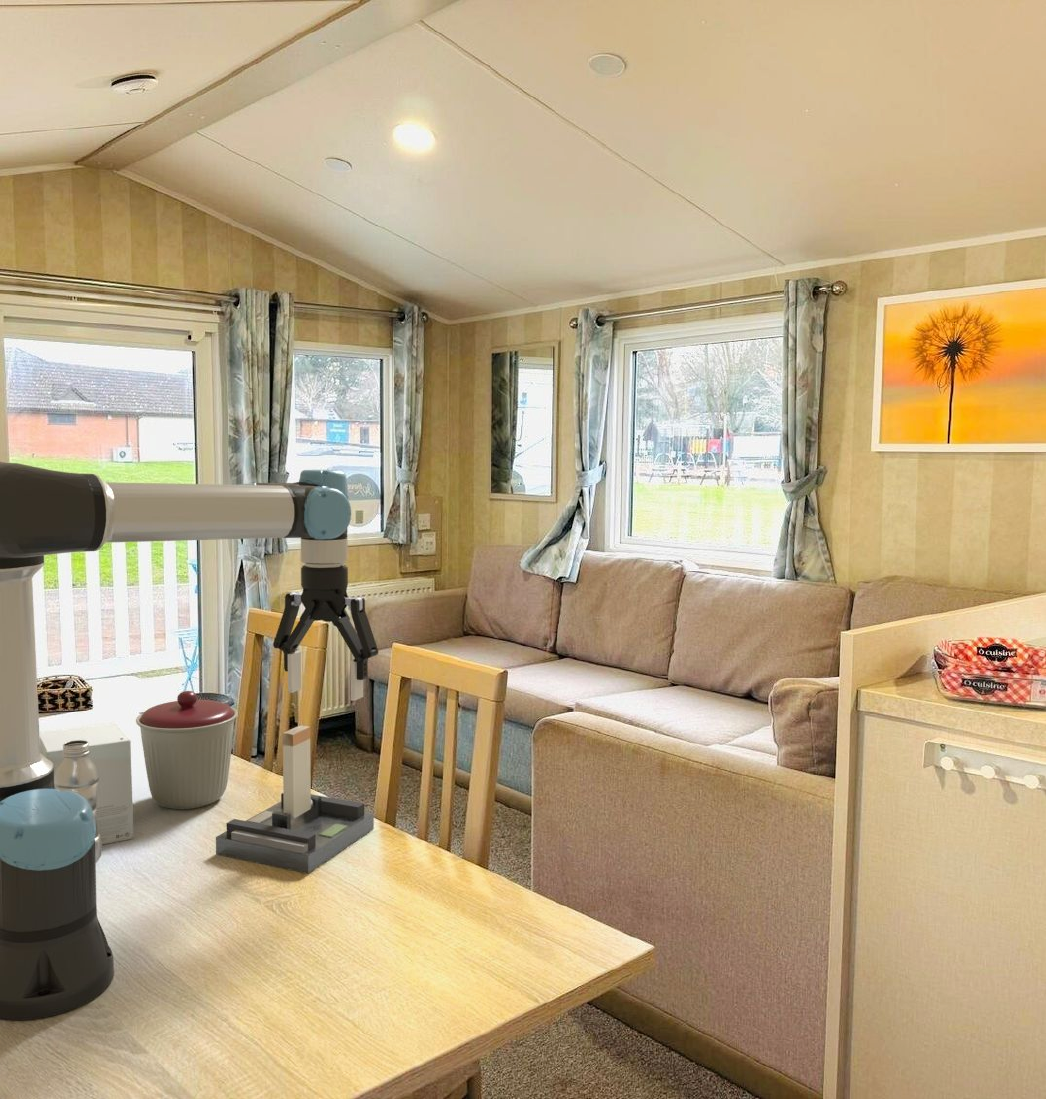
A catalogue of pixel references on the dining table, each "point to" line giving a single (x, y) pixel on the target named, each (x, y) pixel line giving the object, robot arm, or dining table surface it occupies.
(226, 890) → the dining table surface
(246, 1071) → the dining table surface
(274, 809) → the panel
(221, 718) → the canister
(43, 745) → the supplement box
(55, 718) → the dining table surface
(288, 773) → the lever
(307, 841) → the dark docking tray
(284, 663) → the robot arm
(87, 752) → the plastic bottle
